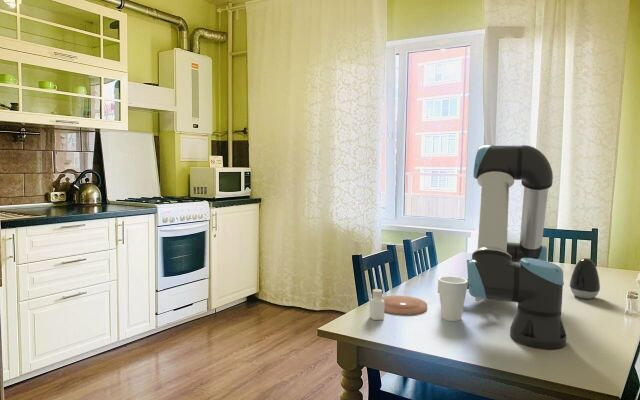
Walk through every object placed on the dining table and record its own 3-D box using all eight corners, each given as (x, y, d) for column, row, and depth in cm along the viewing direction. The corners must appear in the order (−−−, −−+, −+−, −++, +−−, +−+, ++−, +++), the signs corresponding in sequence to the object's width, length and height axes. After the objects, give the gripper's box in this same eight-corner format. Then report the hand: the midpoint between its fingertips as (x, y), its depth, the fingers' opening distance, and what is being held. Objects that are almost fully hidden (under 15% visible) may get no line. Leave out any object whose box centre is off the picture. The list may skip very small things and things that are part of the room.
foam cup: (467, 323, 150) (468, 284, 148) (437, 321, 151) (439, 282, 150) (464, 314, 159) (465, 276, 158) (436, 312, 161) (437, 275, 159)
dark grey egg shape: (602, 296, 181) (604, 258, 179) (595, 302, 173) (598, 262, 172) (573, 291, 188) (575, 254, 186) (565, 296, 180) (568, 258, 179)
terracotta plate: (432, 315, 157) (432, 311, 157) (378, 314, 158) (378, 310, 158) (421, 299, 175) (421, 295, 175) (373, 298, 176) (373, 294, 175)
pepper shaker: (373, 321, 151) (374, 292, 150) (368, 316, 155) (369, 289, 154) (384, 320, 152) (385, 291, 151) (380, 315, 156) (380, 288, 155)
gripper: (516, 298, 166) (493, 312, 150) (451, 284, 182) (424, 296, 167) (517, 277, 165) (494, 289, 149) (451, 265, 182) (424, 275, 166)
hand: (457, 293), depth 158 cm, fingers open, 13 cm apart
